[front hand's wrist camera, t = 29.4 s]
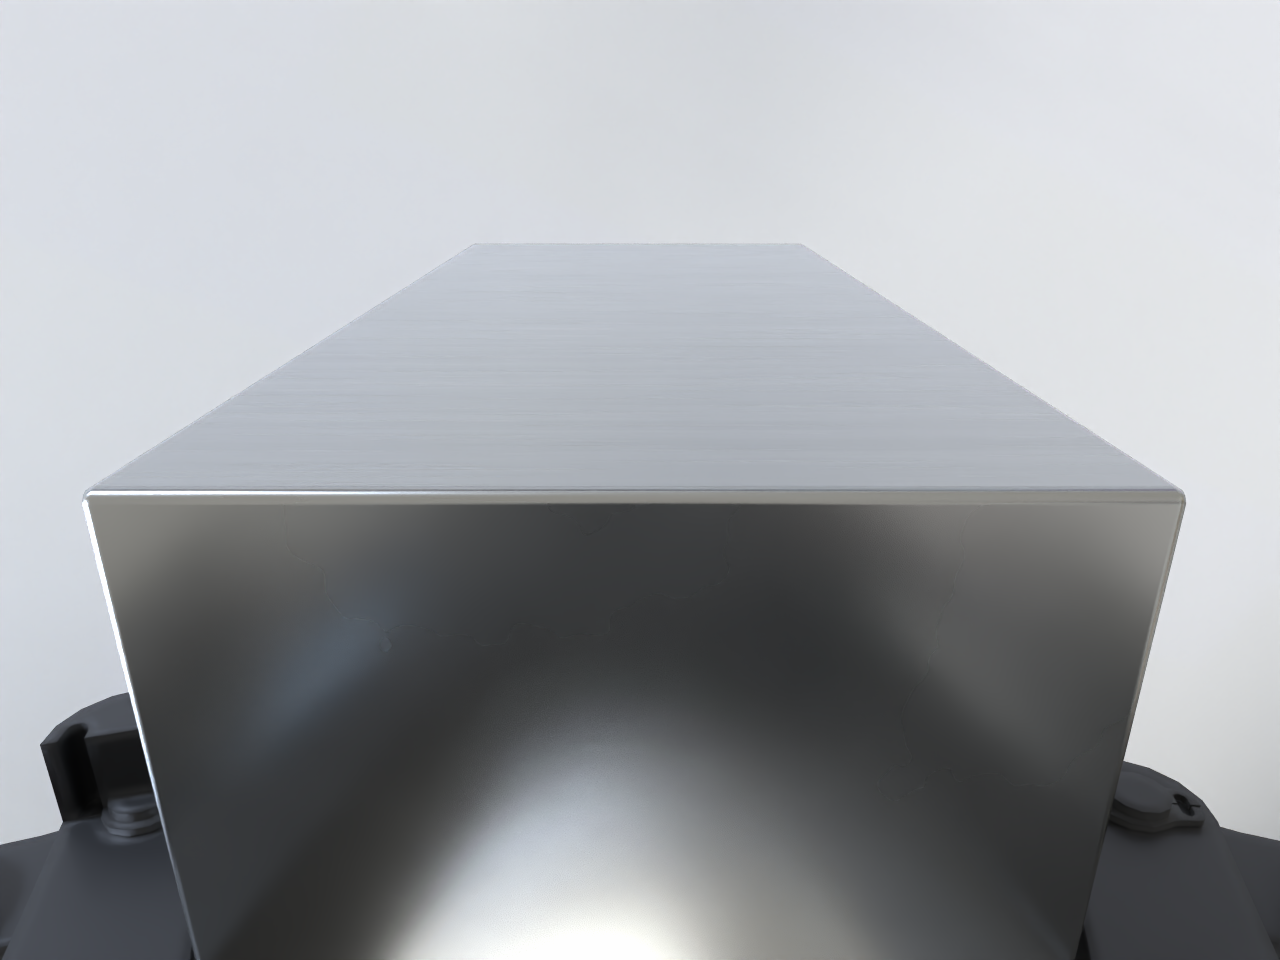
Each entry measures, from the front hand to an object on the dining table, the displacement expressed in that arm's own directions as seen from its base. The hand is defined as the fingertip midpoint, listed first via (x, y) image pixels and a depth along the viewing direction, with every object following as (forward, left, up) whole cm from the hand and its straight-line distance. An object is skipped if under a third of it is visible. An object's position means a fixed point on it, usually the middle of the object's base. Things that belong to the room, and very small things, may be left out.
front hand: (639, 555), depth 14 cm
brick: (0, 0, -2) cm, 2 cm away
